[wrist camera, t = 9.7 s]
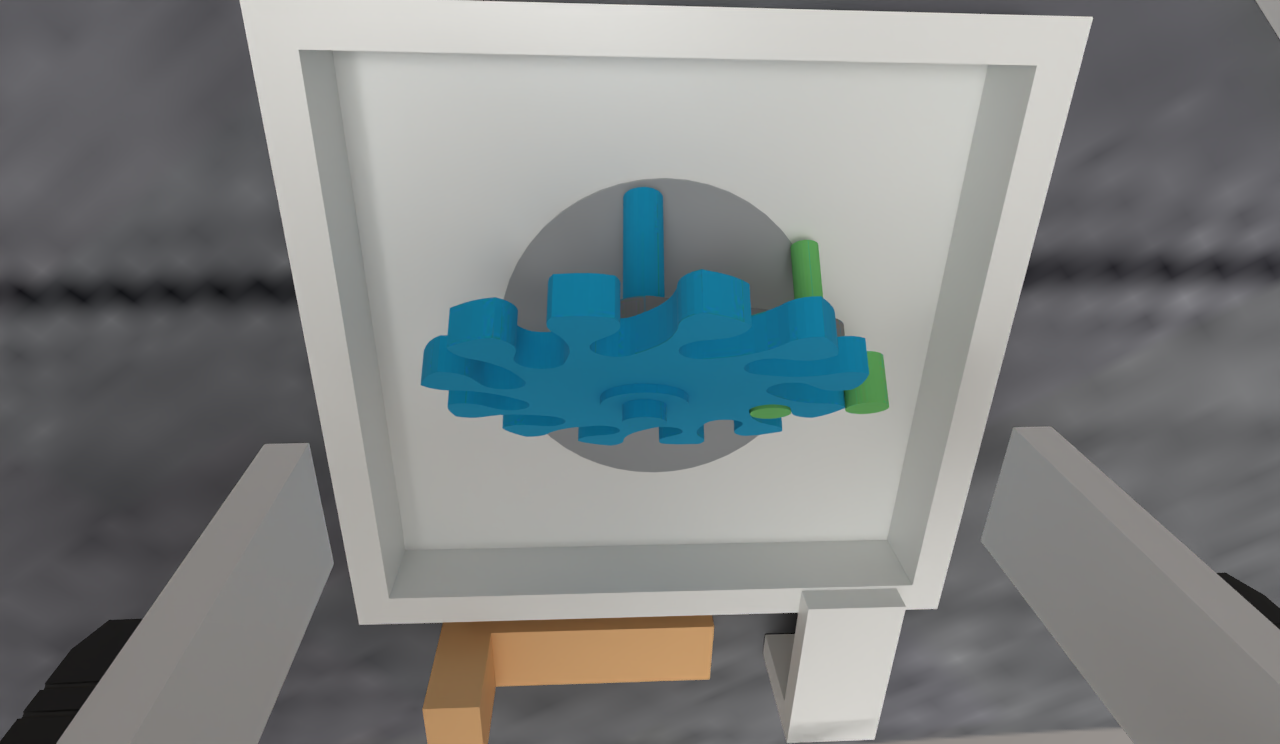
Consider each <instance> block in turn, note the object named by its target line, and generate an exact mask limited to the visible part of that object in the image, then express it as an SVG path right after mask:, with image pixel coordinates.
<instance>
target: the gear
mask: <svg viewBox="0 0 1280 744" xmlns="http://www.w3.org/2000/svg"><path fill="white" fill-rule="evenodd" d="M790 250H791V263H792V276H793V288H794V300H791V301H788V302H786V303H784V304H782V305H780V306H778V307H775V308H773V309H770V310H768V309H759V308H751V301H750V284H749V283H747V282H745V281H744V280H742V279H739V278H736V277H734V276H730V275H727V274H723V273H719V272H714V271H709V270H704V269H700V270H696V271H693V272H690V273H688V274H686V275H684V276H683V277H681V278H680V280H679V281H678V283H677V288H676V290H675V292H674V293H673V295H672V296H671V297H670V298H665V285H664V223H663V195H662V194H661V192H659V191H658V190H656V189H654V188H650V187H637V188H633V189H630V190H628V191H627V192H626V193H625V194H624V196H623V299H621V300H620V285H621V282H620V280H619V279H618V278H617V277H616V276H615V275H608V274H599V273H564V274H553V275H552V276H551V277H550V278H549V280H548V292H547V317H546V325H547V328H548V329H549V330H550V331H551V332H536V331H530V330H526V329H523V328H521V327H520V326H518V325H517V321H518V309H517V307H516V306H515V305H514V304H512V303H510V302H509V301H506V300H503V299H500V298H496V297H493V298H483V299H478V300H473V301H469V302H466V303H462V304H459V305H457V306H454V307H451V308H450V311H449V323H448V335H440V336H437V337H435V338H433V339H432V340H430V341H429V342H428V344H427V345H426V347H425V349H424V354H423V364H422V374H421V386H424V387H428V388H432V389H438V390H449V394H448V406H447V407H448V410H449V411H450V412H451V413H452V414H454V415H455V416H456V417H465V418H479V417H487V416H495V415H503V426H502V428H503V429H505V430H506V431H509V432H511V433H514V434H518V435H521V436H525V437H534V436H542V435H546V434H548V433H550V432H553V431H557V430H561V429H567V428H574V427H578V441H580V442H584V443H590V444H598V445H608V446H612V445H618V444H621V443H622V442H623V441H624V438H625V437H626V436H628V435H630V434H632V433H635V432H638V431H642V430H646V429H650V428H656V427H659V442H660V443H661V444H700V443H702V442H704V424H705V423H707V422H710V421H715V420H734V433H735V434H737V435H741V436H752V435H762V434H769V433H776V432H781V431H782V417H785V416H788V415H790V414H791V412H792V414H793V415H795V416H798V417H805V418H814V417H819V416H823V415H827V414H830V413H833V412H836V411H839V410H841V409H844V408H845V411H846V412H848V413H853V414H871V413H877V412H881V411H884V410H886V409H888V408H889V400H888V391H887V383H886V374H885V366H884V357H883V354H881V353H879V352H874V351H867V349H866V340H865V338H863V337H857V336H845V332H844V324H843V322H842V321H841V320H839V319H836V318H835V311H834V309H833V307H832V306H831V305H830V303H829V302H828V301H826V300H825V299H824V298H823V291H822V280H821V269H820V258H819V247H818V243H817V242H816V241H813V240H801V241H797V242H795V243H793V244H792V245H791V247H790Z"/></svg>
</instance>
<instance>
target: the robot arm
mask: <svg viewBox="0 0 1280 744" xmlns="http://www.w3.org/2000/svg"><path fill="white" fill-rule="evenodd" d="M981 542H982V543H983V545H984V546H985V547H986V549H987V550H988V551H989V553H990V554H991V555H992V557H993V558H994V559H995V561H996V562H997V563H998V564H999V566H1000V567H1001V568H1002V570H1003V571H1004V572H1005V574H1006V575H1007V576H1008V578H1009V579H1010V580H1011V582H1012V583H1013V584H1014V586H1015V587H1016V588H1017V590H1018V591H1019V592H1020V594H1021V595H1022V596H1023V598H1024V599H1025V600H1026V602H1027V603H1028V604H1029V605H1030V607H1031V608H1032V609H1033V611H1034V612H1035V613H1036V615H1037V616H1038V617H1039V619H1040V620H1041V621H1042V623H1043V624H1044V625H1045V627H1046V628H1047V629H1048V631H1049V632H1050V633H1051V635H1052V636H1053V637H1054V639H1055V640H1056V641H1057V643H1058V644H1059V645H1060V646H1061V648H1062V649H1063V650H1064V652H1065V653H1066V654H1067V656H1068V657H1069V658H1070V660H1071V661H1072V662H1073V664H1074V665H1075V666H1076V668H1077V669H1078V670H1079V672H1080V673H1081V674H1082V676H1083V677H1084V678H1085V680H1086V681H1087V682H1088V684H1089V685H1090V686H1091V687H1092V689H1093V690H1094V691H1095V693H1096V694H1097V695H1098V697H1099V698H1100V699H1101V701H1102V702H1103V703H1104V705H1105V706H1106V707H1107V709H1108V710H1109V711H1110V713H1111V714H1112V715H1113V717H1114V718H1115V719H1116V721H1117V722H1118V723H1119V725H1120V726H1121V727H1122V729H1123V730H1124V731H1125V732H1126V734H1127V735H1128V736H1129V738H1130V739H1131V740H1132V742H1133V743H1134V744H1280V608H1279V607H1277V606H1276V605H1275V604H1274V603H1273V602H1272V601H1270V600H1269V599H1268V598H1267V597H1266V596H1265V595H1263V594H1261V593H1259V592H1258V591H1256V590H1254V589H1253V588H1251V587H1249V586H1247V585H1246V584H1244V583H1242V582H1241V581H1239V580H1237V579H1235V578H1234V577H1232V576H1230V575H1229V574H1227V573H1215V572H1214V571H1213V570H1212V569H1211V568H1210V567H1209V566H1208V565H1206V564H1205V563H1204V562H1203V561H1202V560H1201V559H1200V558H1199V557H1197V556H1196V555H1195V554H1194V553H1193V552H1192V551H1191V550H1190V549H1188V548H1187V547H1186V546H1185V545H1184V544H1183V543H1182V542H1181V541H1179V540H1178V539H1177V538H1176V537H1175V536H1174V535H1173V534H1172V533H1170V532H1169V531H1168V530H1167V529H1166V528H1165V527H1164V526H1163V525H1161V524H1160V523H1159V522H1158V521H1157V520H1156V519H1155V518H1154V517H1152V516H1151V515H1150V514H1149V513H1148V512H1147V511H1146V510H1145V509H1143V508H1142V507H1141V506H1140V505H1139V504H1138V503H1137V502H1136V501H1134V500H1133V499H1132V498H1131V497H1130V496H1129V495H1128V494H1127V493H1125V492H1124V491H1123V490H1122V489H1121V488H1120V487H1119V486H1118V485H1116V484H1115V483H1114V482H1113V481H1112V480H1111V479H1110V478H1109V477H1107V476H1106V475H1105V474H1104V473H1103V472H1102V471H1101V470H1100V469H1098V468H1097V467H1096V466H1095V465H1094V464H1093V463H1092V462H1091V461H1089V460H1088V459H1087V458H1086V457H1085V456H1084V455H1083V454H1082V453H1080V452H1079V451H1078V450H1077V449H1076V448H1075V447H1074V446H1073V445H1071V444H1070V443H1069V442H1068V441H1067V440H1066V439H1065V438H1064V437H1062V436H1061V435H1060V434H1059V433H1058V432H1057V431H1056V430H1055V429H1053V428H1052V427H1051V426H1047V427H1013V430H1012V434H1011V437H1010V440H1009V444H1008V447H1007V451H1006V454H1005V458H1004V461H1003V465H1002V468H1001V472H1000V475H999V479H998V482H997V486H996V489H995V492H994V496H993V499H992V503H991V506H990V510H989V513H988V517H987V520H986V524H985V527H984V531H983V534H982V538H981ZM333 565H334V561H333V557H332V552H331V547H330V542H329V537H328V532H327V527H326V523H325V518H324V513H323V508H322V503H321V498H320V493H319V489H318V484H317V479H316V474H315V469H314V464H313V459H312V455H311V450H310V445H309V443H286V444H264V445H263V447H262V448H261V450H260V451H259V452H258V454H257V455H256V457H255V458H254V460H253V461H252V463H251V464H250V465H249V467H248V468H247V470H246V471H245V473H244V474H243V475H242V477H241V478H240V480H239V481H238V483H237V484H236V486H235V487H234V488H233V490H232V491H231V493H230V494H229V496H228V497H227V498H226V500H225V501H224V503H223V504H222V506H221V507H220V509H219V510H218V511H217V513H216V514H215V516H214V517H213V519H212V520H211V522H210V523H209V524H208V526H207V527H206V529H205V530H204V532H203V533H202V534H201V536H200V537H199V539H198V540H197V542H196V543H195V545H194V546H193V547H192V549H191V550H190V552H189V553H188V555H187V556H186V557H185V559H184V560H183V562H182V563H181V565H180V566H179V568H178V569H177V570H176V572H175V573H174V575H173V576H172V578H171V579H170V580H169V582H168V583H167V585H166V586H165V588H164V589H163V591H162V592H161V593H160V595H159V596H158V598H157V599H156V601H155V602H154V604H153V605H152V606H151V608H150V609H149V611H148V612H147V614H146V615H145V616H144V618H143V619H125V620H109V621H107V622H106V623H105V624H103V625H102V626H101V627H100V628H98V629H97V630H96V631H94V632H93V633H92V634H91V635H89V636H88V637H87V638H85V639H84V640H83V641H82V642H80V643H79V644H78V645H76V646H75V647H74V648H73V649H71V651H70V652H69V653H68V654H67V656H66V657H65V658H64V660H63V661H62V662H61V663H60V665H59V666H58V667H57V669H56V670H55V671H54V673H53V674H52V675H51V676H50V678H49V679H48V680H47V682H46V683H45V688H44V690H40V691H39V692H38V693H37V695H36V696H35V697H34V698H33V700H32V701H31V702H30V704H29V705H28V706H27V707H26V709H25V710H24V711H23V712H24V714H23V717H22V719H17V720H16V722H15V723H14V724H13V726H12V727H11V728H10V729H9V731H8V732H7V733H6V735H5V736H4V737H3V739H2V740H1V741H0V744H258V742H259V740H260V737H261V735H262V733H263V730H264V728H265V725H266V723H267V721H268V718H269V716H270V714H271V711H272V709H273V707H274V704H275V702H276V699H277V697H278V695H279V692H280V690H281V688H282V685H283V683H284V681H285V678H286V676H287V674H288V671H289V669H290V666H291V664H292V662H293V659H294V657H295V655H296V652H297V650H298V648H299V645H300V643H301V640H302V638H303V636H304V633H305V631H306V629H307V626H308V624H309V622H310V619H311V617H312V614H313V612H314V610H315V607H316V605H317V603H318V600H319V598H320V596H321V593H322V591H323V589H324V586H325V584H326V581H327V579H328V577H329V574H330V572H331V570H332V567H333Z"/></svg>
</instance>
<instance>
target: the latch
mask: <svg viewBox="0 0 1280 744" xmlns="http://www.w3.org/2000/svg"><path fill="white" fill-rule="evenodd" d="M713 635H714V623H713V618H712V615H694V616H658V617H622V618H586V619H550V620H514V621H478V622H443V625H442V629H441V633H440V638H439V642H438V646H437V650H436V654H435V659H434V663H433V667H432V671H431V675H430V680H429V684H428V688H427V692H426V696H425V701H424V705H423V709H422V710H423V716H424V723H425V729H426V736H427V743H428V744H488V739H489V731H490V724H491V717H492V710H493V702H494V695H495V688H496V687H498V686H528V685H557V684H587V683H617V682H647V681H677V680H706V679H710V668H711V657H712V646H713Z"/></svg>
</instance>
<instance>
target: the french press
mask: <svg viewBox="0 0 1280 744" xmlns="http://www.w3.org/2000/svg"><path fill="white" fill-rule="evenodd" d="M1255 1H1256V2H1257V4H1258V5H1259V7H1260V9H1261V10H1262V12H1263V13H1264V15H1265V16H1266V18H1267V20H1268V21H1269V23H1270V24H1271V26H1272V28H1273V29H1274V31H1275V32H1276V34H1277V36H1278V37H1279V39H1280V0H1255Z"/></svg>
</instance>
